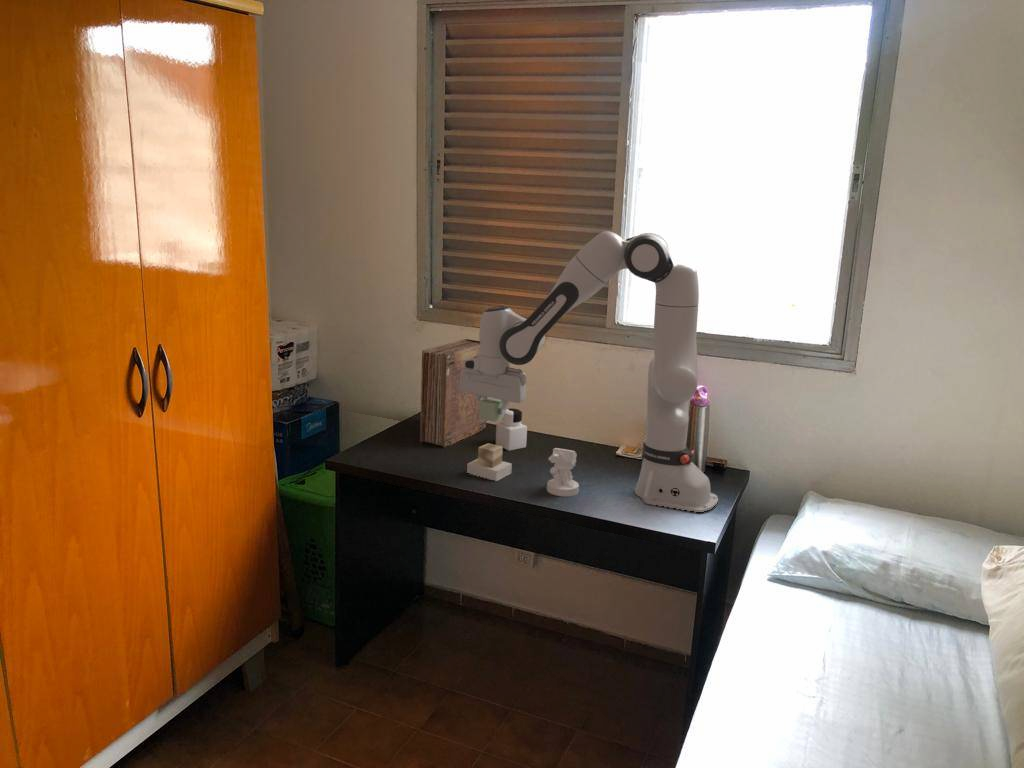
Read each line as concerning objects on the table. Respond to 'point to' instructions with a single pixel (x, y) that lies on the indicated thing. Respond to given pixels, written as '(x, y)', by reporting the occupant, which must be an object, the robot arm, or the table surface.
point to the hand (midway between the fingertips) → (491, 412)
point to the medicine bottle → (511, 431)
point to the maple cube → (490, 455)
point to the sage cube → (490, 409)
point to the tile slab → (489, 470)
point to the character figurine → (562, 473)
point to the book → (448, 395)
